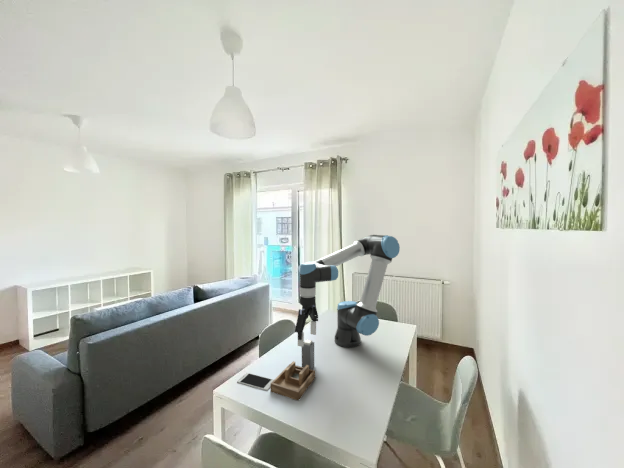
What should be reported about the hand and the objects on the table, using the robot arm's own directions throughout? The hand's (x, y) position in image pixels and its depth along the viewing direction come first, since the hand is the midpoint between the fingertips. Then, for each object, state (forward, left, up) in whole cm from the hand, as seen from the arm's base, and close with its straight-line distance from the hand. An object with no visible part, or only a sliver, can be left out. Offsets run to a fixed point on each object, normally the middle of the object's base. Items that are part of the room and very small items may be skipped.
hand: (307, 339), depth 122 cm
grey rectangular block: (0, 0, -14) cm, 14 cm away
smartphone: (+19, -16, -14) cm, 28 cm away
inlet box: (+14, 0, -14) cm, 19 cm away
